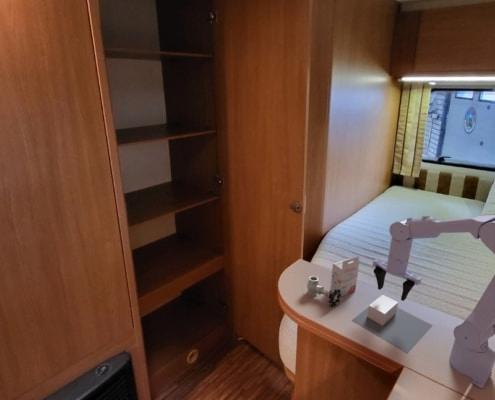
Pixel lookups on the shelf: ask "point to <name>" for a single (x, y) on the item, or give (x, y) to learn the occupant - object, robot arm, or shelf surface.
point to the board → (396, 329)
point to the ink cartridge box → (345, 275)
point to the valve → (322, 291)
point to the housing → (382, 309)
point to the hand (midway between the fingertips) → (391, 293)
